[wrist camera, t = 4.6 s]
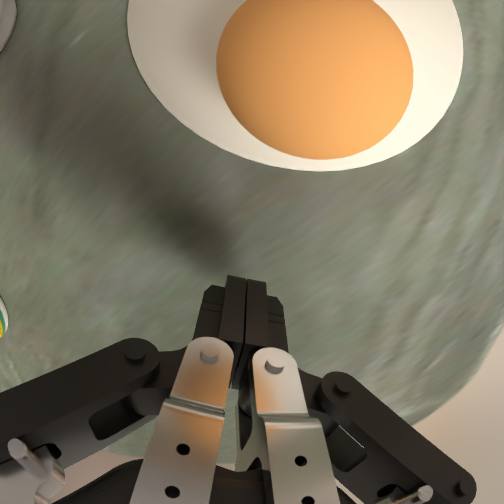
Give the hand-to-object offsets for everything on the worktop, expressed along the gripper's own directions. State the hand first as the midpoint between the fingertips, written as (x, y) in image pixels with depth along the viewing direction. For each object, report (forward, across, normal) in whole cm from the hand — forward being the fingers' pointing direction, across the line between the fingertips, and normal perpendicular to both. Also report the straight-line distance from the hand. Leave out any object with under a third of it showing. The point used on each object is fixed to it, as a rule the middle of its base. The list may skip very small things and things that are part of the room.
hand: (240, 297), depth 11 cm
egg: (-1, 0, -9) cm, 9 cm away
